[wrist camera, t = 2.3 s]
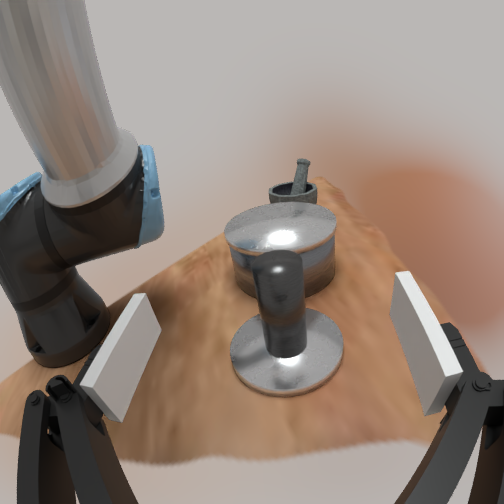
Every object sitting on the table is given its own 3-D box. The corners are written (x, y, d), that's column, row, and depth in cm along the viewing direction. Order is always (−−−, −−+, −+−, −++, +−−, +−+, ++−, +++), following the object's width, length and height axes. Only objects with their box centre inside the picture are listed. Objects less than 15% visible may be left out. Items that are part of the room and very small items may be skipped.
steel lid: (212, 352, 32) (184, 268, 27) (289, 303, 38) (280, 221, 33) (283, 419, 24) (269, 333, 18) (364, 346, 29) (374, 255, 24)
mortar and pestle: (302, 234, 55) (296, 171, 49) (263, 225, 60) (254, 168, 55) (329, 212, 62) (326, 157, 56) (293, 206, 67) (287, 155, 62)
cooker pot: (215, 274, 47) (204, 228, 43) (286, 237, 54) (282, 195, 51) (282, 319, 35) (275, 264, 32) (357, 264, 43) (358, 216, 39)
